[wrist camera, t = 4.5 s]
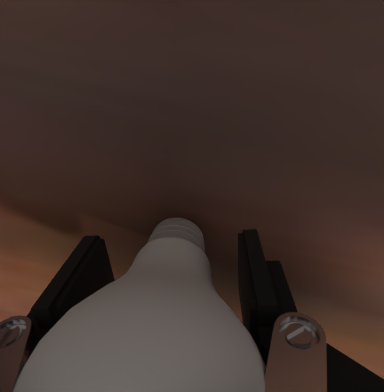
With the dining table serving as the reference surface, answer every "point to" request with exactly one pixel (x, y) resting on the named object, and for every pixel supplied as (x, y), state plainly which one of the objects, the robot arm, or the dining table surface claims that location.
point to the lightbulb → (150, 330)
